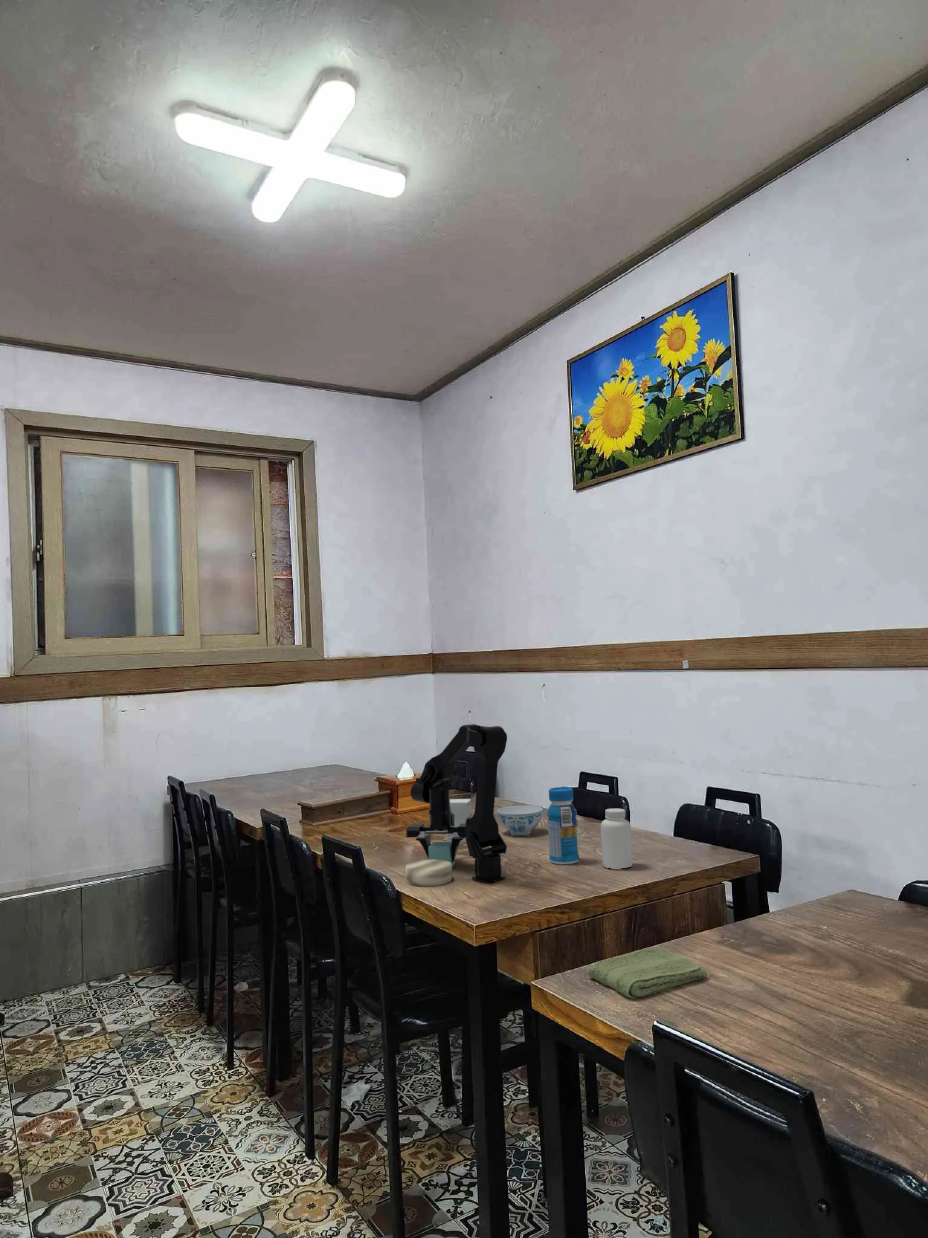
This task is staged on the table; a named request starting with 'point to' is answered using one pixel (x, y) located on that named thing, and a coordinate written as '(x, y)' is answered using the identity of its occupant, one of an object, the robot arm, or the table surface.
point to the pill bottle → (616, 840)
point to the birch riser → (428, 872)
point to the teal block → (441, 851)
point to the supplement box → (459, 814)
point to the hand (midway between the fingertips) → (442, 861)
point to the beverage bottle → (562, 827)
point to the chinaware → (520, 818)
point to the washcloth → (645, 972)
